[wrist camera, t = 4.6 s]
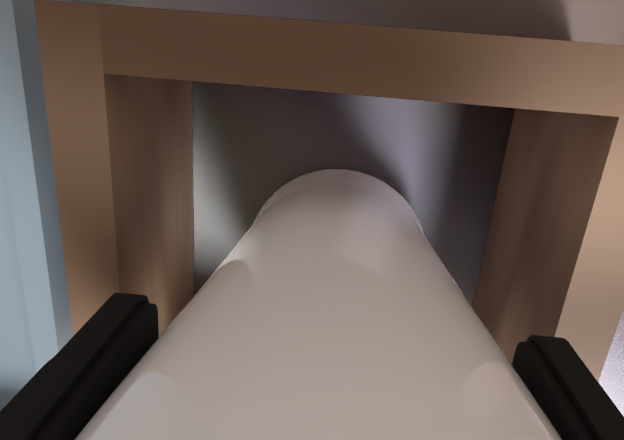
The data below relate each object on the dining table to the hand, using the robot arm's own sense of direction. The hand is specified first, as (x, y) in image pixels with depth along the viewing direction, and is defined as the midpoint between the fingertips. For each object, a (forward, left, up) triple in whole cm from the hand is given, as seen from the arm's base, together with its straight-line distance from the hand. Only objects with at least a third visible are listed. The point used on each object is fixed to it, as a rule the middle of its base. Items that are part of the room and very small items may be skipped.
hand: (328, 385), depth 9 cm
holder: (0, 0, -7) cm, 7 cm away
